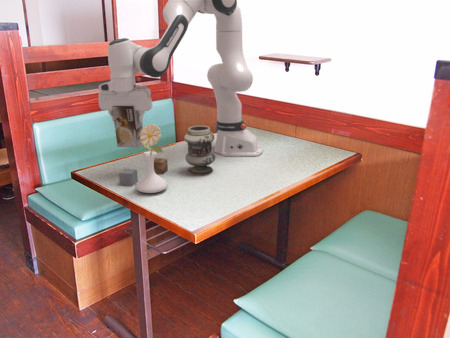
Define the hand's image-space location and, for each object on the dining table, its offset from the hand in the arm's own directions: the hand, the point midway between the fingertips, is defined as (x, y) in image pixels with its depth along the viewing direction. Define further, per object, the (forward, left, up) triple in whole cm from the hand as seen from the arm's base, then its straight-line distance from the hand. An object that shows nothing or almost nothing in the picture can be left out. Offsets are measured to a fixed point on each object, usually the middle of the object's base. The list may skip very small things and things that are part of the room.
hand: (127, 121), depth 158 cm
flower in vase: (-14, +14, -22) cm, 29 cm away
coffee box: (0, -1, -10) cm, 10 cm away
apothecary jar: (-26, -9, -22) cm, 35 cm away
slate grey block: (-3, +9, -22) cm, 24 cm away
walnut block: (-10, -5, -22) cm, 24 cm away
